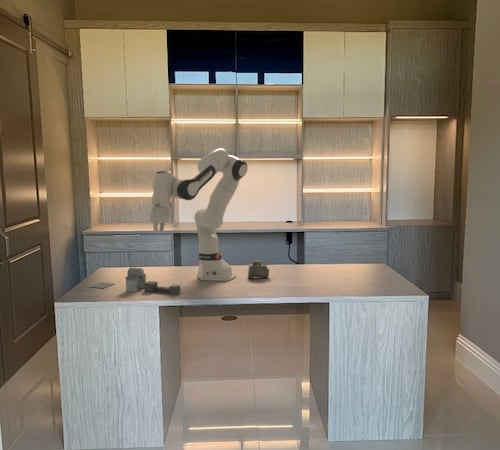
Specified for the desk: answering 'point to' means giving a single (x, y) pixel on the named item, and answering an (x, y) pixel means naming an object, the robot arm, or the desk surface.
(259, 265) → the pipe fitting
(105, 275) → the desk surface
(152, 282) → the grey long block-ended bar
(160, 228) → the robot arm
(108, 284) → the pad
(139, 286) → the housing
